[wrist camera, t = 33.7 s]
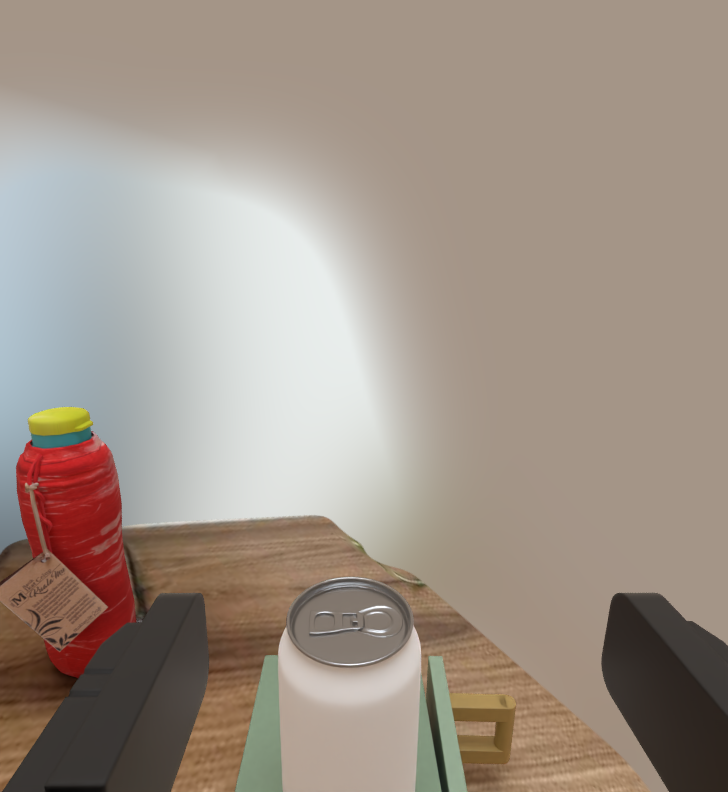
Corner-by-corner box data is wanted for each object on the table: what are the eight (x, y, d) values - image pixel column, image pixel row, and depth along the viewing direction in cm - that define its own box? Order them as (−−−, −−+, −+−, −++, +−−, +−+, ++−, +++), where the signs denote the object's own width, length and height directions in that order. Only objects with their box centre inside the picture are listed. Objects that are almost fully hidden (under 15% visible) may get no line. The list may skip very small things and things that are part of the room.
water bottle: (93, 728, 40) (46, 442, 33) (-2, 724, 40) (-67, 439, 33) (158, 624, 51) (133, 397, 45) (84, 621, 51) (49, 395, 45)
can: (423, 892, 21) (437, 670, 18) (277, 902, 21) (266, 678, 18) (403, 751, 28) (410, 569, 25) (289, 757, 27) (283, 572, 24)
